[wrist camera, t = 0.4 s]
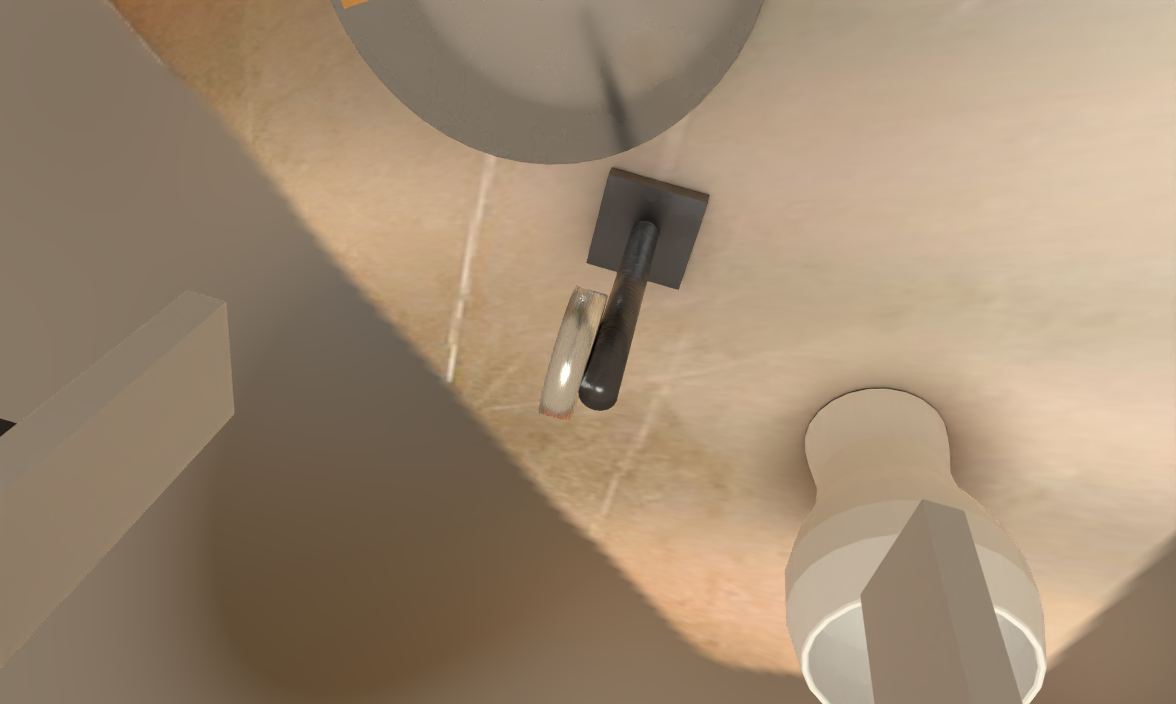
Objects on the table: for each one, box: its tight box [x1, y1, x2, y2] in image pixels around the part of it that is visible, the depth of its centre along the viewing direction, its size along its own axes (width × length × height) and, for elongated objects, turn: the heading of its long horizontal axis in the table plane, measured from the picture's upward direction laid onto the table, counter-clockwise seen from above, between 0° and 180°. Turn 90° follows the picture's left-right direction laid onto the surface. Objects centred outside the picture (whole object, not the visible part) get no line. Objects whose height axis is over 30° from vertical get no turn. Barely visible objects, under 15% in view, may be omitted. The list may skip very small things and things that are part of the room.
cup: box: [785, 389, 1047, 704], centre depth 39 cm, size 11×11×15 cm
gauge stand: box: [539, 168, 709, 422], centre depth 34 cm, size 5×5×16 cm
